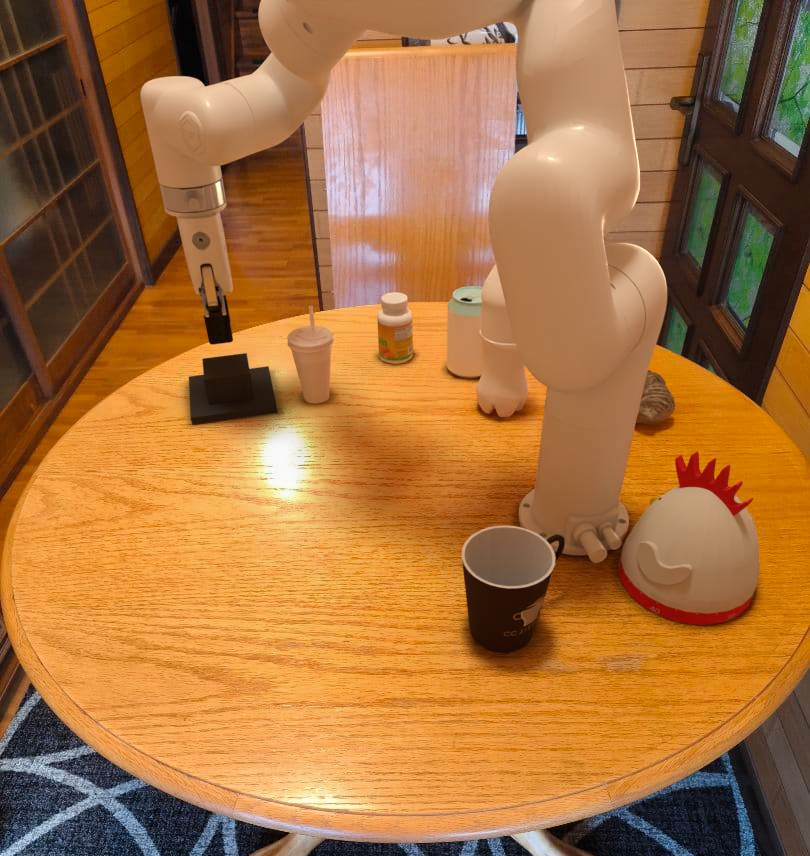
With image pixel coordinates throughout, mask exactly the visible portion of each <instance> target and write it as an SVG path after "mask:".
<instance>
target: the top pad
mask: <svg viewBox="0 0 810 856" xmlns="http://www.w3.org/2000/svg"><path fill="white" fill-rule="evenodd" d="M201 361H202V372H203V373H202V375H204V382H205V387H206V392H207V396H208V401H209V404H217V403H224V402H231V401H239V400H247V399H254V393H253V387H252V381H251V375H250V369H251V368H250V364H249V359H248V353H247V352H243V353H236V354H229V355H219V356H213V357H212V356H211V357H205V358H204V357H203V358H202V360H201Z"/></svg>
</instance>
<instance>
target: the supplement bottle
mask: <svg viewBox="0 0 810 856" xmlns="http://www.w3.org/2000/svg"><path fill="white" fill-rule="evenodd" d="M408 298H409V297H408V295H406V294H405V293H403V292H399V291H396V292H394V291H393V292H387V293H384V294H383V295H382V296H381V298H380V306H381V309H380V310H379V311H378V312H377V315H376V317H377V339H378V341H377V342H378V356H379V358H380V360H381V361H382V362H384V363H387V364H392V365H399V364H404V363H406V362H408V361H410V360H411V359H412V358H413V356H414V355H413V354H414V332H413V331H414V330H413V328H414V327H413V326H414V325H413V323H414V322H413V313H412V311H411V310H410V309H409V308H408V306H409V302H408V301H409V300H408Z"/></svg>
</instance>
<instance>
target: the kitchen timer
mask: <svg viewBox="0 0 810 856" xmlns="http://www.w3.org/2000/svg"><path fill="white" fill-rule="evenodd" d="M674 464H675V465H674V466H675V471H676V476H677V481H678V485H679V486H676V487H673V488H671V489H670V490H668V491H667V492H665V493H664V494H662V495H659V496H655V497H653V498H651V499H650V500H649V506H648V507H646V509H645V510H644V512H643V513H642V515H640V517H639V519H638V520H637V521H636V523H635V524H634V526H633V528H632V529H631V531H630V533H628V535H627V537H626V539H625V541H624V543H623V544H622V548H621V551H620V557H619V562H618V570H617V573H618V575H619V579H620V581H621V585H622V587H623V588H624V589H625V590H626V592H627V593H628V594H629V596H630V597H631V598H632V599H633V600H634V601H635V602H637V603H638V604H639V605H641V606H642V607H643V608H644V609H646V610H648V611H650V612H652V613H654V614H655V615H658V616H659V617H662V618H663V619H668V620H670V621H674V622H677V623H682V624H688V625H700V626H708V625H715V624H722V623H725V622H728V621H730V620H732V619H735V618H737V617H739V616H740V615H741V614H742V613H743V612H744V611H745V610H746V609H747V608H749V605H750V603H751V601H752V598H753V596H754V593H755V591H756V588H757V586H758V583H759V579H760V550H759V549H760V547H759V537H758V531H757V528H756V524H755V522H754V521H755V519H754V516H753V515H751V514H750V512H749V510H748V509H747V507H748V506H749V505H750V504H751V503H752V502H753V501H754V498H753V497H751V498H748V499H747V500H746V501H742V500H741V499H740V498H739V497H738V496H737V493H738V491H739V490H740V489H741V488H742V486H743V483H744V481H742V480H740V481H738V482H737V483H735V484H734V485H732V486H729V480H730V479H729V478H730V472H731V464H727V465H726V466H724V467H723V468H722V469H721V471H720V472H719V474H717V476H716V478H715V473H716V472H715V470H716V464H717V457H714V458H713V459H711V460H709V462H708V463H707V464H706V466H705V467H704V469H703V471H702V472H701V467H700V454H699V451H698V450H696V451H695V452H693V453H692V454H691V455H690V457H689V458H688V463H687V465H686V461H685V460H684V457H683V455H682V454H680V455H678V456H677V457H676V458H675V459H674Z"/></svg>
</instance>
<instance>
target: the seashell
mask: <svg viewBox="0 0 810 856" xmlns="http://www.w3.org/2000/svg"><path fill="white" fill-rule="evenodd" d="M666 383H667V382H666V381H665V379H664V377H663V376H662V375H660V373H657V372H654V371H653V370H652V371H651V370H649V369H648V373H647V376H646V380H645V385H644V389H643V394H642V398H641V403H640V407H639V412H638V415H637V419H636V423H635V424H641V425H642V424H643V425H644V424H646V425H653V424H658V423H661V422H662V421H664V420H667V419H669V417H670V416H671V415H672V414H673V413H674V411H675V410H676V403H675V398H674V396H673V394H672V392H671V391H670V389H669V388H668V387H667V384H666Z"/></svg>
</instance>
